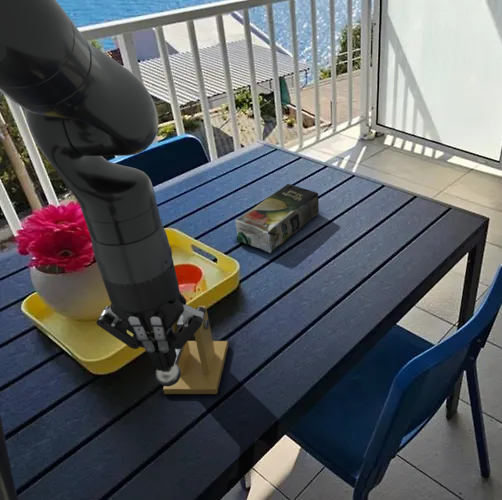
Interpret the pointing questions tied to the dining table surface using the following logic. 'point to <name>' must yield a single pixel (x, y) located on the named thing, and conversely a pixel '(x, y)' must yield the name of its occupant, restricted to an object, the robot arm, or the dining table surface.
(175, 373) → the tap lever
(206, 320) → the bracket
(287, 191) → the juice carton
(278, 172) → the dining table surface
